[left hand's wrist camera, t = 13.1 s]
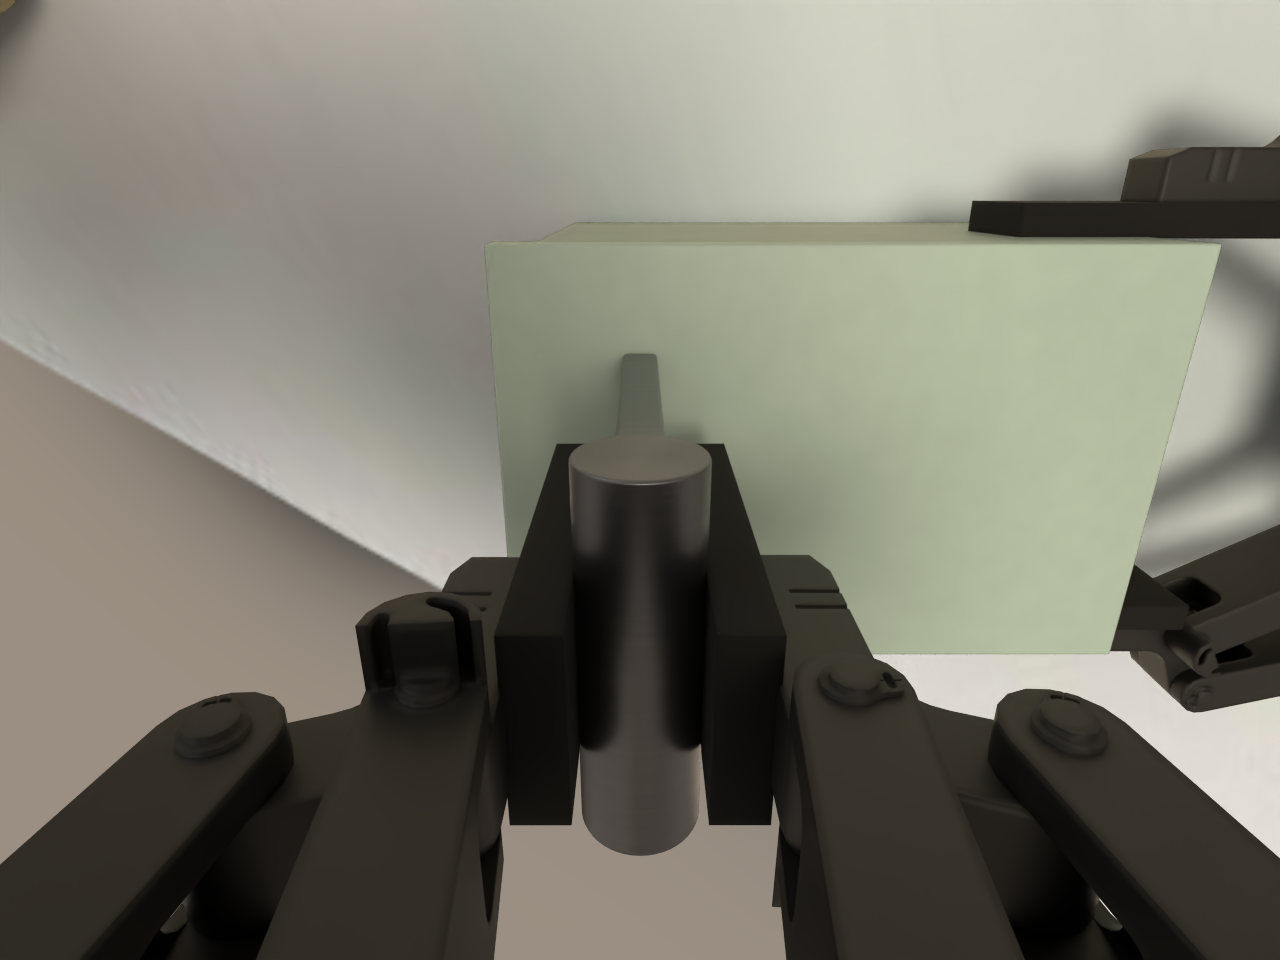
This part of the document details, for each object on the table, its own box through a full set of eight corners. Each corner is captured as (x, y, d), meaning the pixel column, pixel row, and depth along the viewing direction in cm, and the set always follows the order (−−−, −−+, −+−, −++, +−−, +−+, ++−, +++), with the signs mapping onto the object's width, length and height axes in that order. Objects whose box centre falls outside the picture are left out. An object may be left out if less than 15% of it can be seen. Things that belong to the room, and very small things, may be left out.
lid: (519, 637, 19) (431, 957, 11) (490, 241, 15) (332, 296, 7) (1091, 636, 19) (1416, 957, 11) (1195, 240, 15) (1784, 295, 7)
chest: (581, 493, 28) (553, 635, 19) (573, 222, 24) (533, 241, 15) (947, 494, 28) (1090, 635, 19) (992, 222, 24) (1193, 241, 15)
